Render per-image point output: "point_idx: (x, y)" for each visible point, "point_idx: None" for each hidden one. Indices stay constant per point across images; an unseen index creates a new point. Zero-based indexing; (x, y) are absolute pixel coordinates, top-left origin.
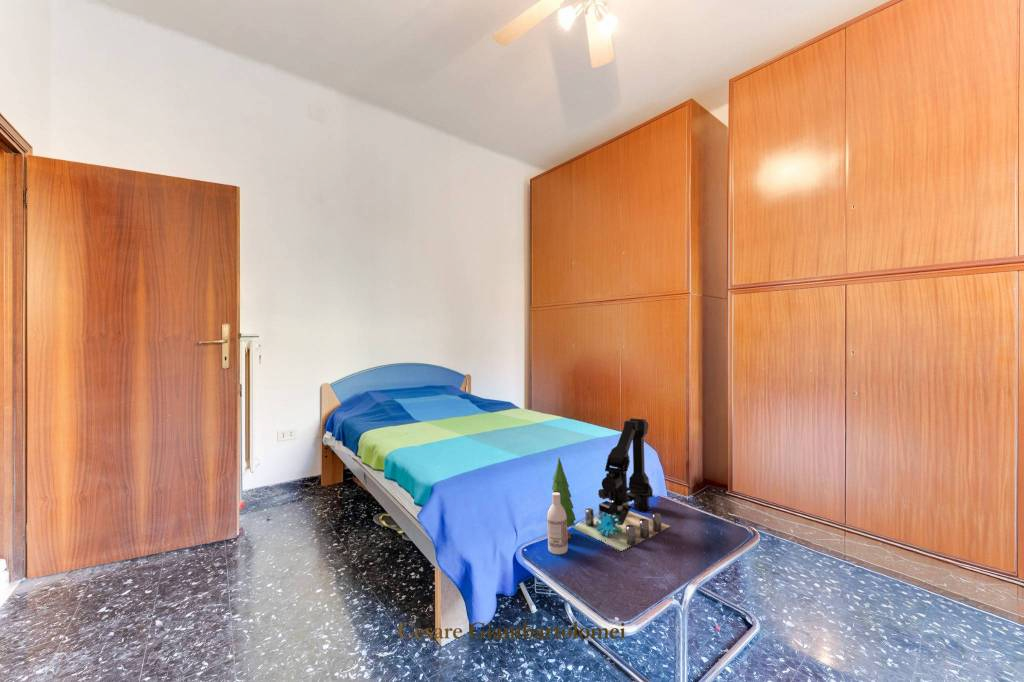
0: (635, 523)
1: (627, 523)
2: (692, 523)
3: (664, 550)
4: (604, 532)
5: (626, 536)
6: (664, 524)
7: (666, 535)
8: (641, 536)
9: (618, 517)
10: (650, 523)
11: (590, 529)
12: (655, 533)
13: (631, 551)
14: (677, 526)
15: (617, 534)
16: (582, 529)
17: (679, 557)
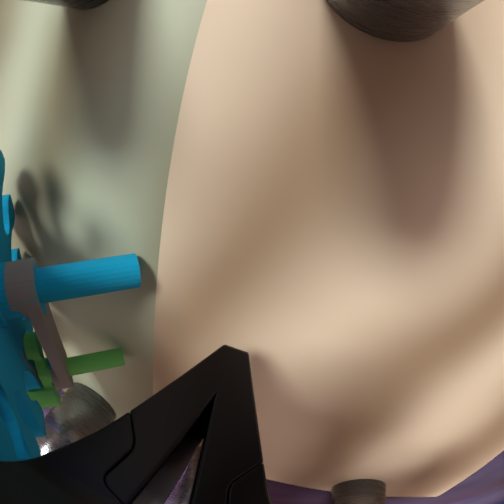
0: (444, 396)
1: (423, 344)
2: (485, 501)
3: (176, 484)
4: (9, 236)
5: (49, 412)
6: (456, 483)
7: (329, 500)
8: (193, 455)
9: (17, 453)
10: (462, 451)
11: (27, 54)
12: (311, 487)
13: (59, 393)
14: (452, 496)
15: (104, 319)
16: (7, 16)
17: (171, 497)
